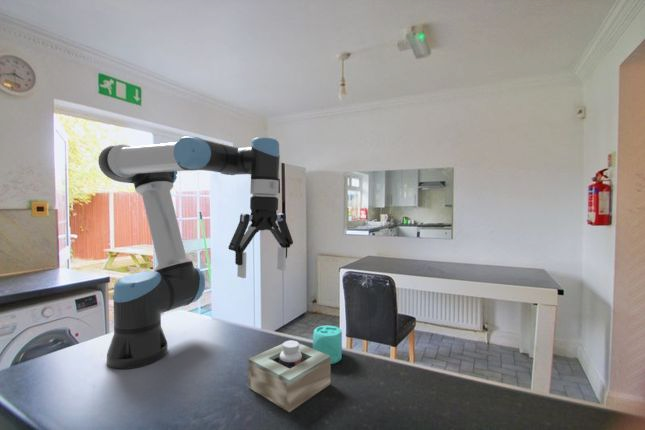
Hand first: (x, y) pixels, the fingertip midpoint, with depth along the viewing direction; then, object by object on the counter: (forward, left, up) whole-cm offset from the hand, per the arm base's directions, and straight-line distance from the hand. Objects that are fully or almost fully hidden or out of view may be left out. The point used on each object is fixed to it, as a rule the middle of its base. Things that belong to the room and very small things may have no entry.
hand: (262, 273), depth 86 cm
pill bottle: (+14, -3, -25) cm, 28 cm away
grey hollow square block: (+14, -3, -25) cm, 29 cm away
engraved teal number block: (+12, +14, -25) cm, 31 cm away
